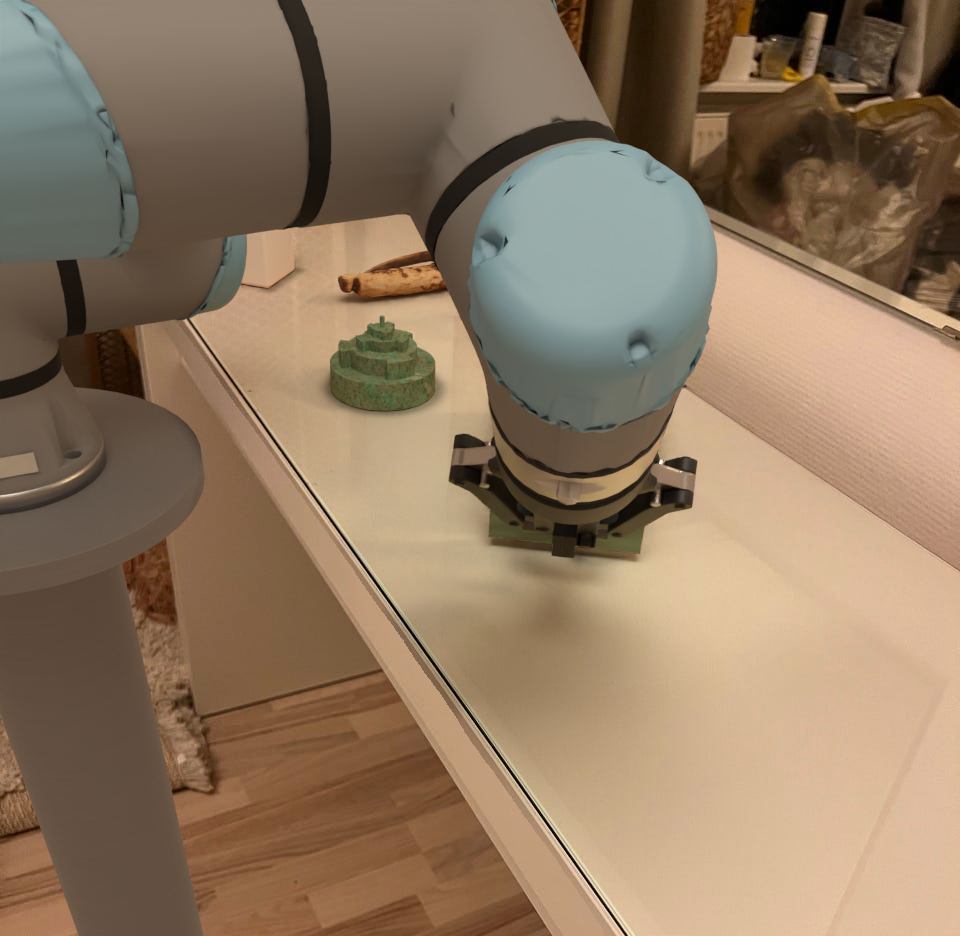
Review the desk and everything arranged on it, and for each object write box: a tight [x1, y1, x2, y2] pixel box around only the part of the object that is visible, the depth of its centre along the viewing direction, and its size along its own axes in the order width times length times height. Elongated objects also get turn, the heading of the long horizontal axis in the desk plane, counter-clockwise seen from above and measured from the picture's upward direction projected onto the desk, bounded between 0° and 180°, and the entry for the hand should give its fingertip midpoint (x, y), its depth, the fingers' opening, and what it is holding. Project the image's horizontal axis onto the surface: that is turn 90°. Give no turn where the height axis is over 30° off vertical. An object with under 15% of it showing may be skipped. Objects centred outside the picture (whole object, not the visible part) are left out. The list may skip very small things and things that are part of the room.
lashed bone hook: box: [337, 250, 447, 298], centre depth 115 cm, size 9×5×18 cm
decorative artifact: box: [329, 315, 436, 412], centre depth 93 cm, size 10×7×10 cm
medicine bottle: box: [241, 228, 296, 289], centre depth 114 cm, size 7×7×12 cm
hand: (564, 537), depth 67 cm, fingers closed
